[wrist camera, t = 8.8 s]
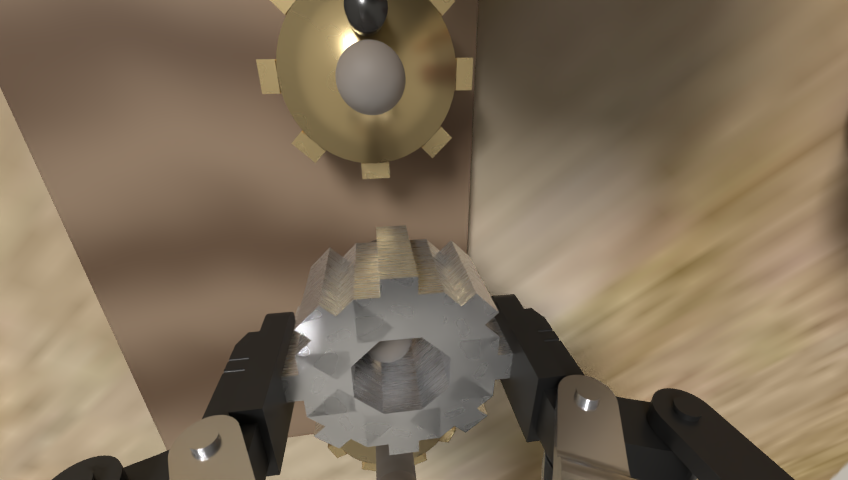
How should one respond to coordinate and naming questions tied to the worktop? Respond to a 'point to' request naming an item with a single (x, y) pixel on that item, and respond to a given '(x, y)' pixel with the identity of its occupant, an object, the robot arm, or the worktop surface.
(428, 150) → the gear
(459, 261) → the steel gear
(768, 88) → the worktop surface
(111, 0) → the gear board
